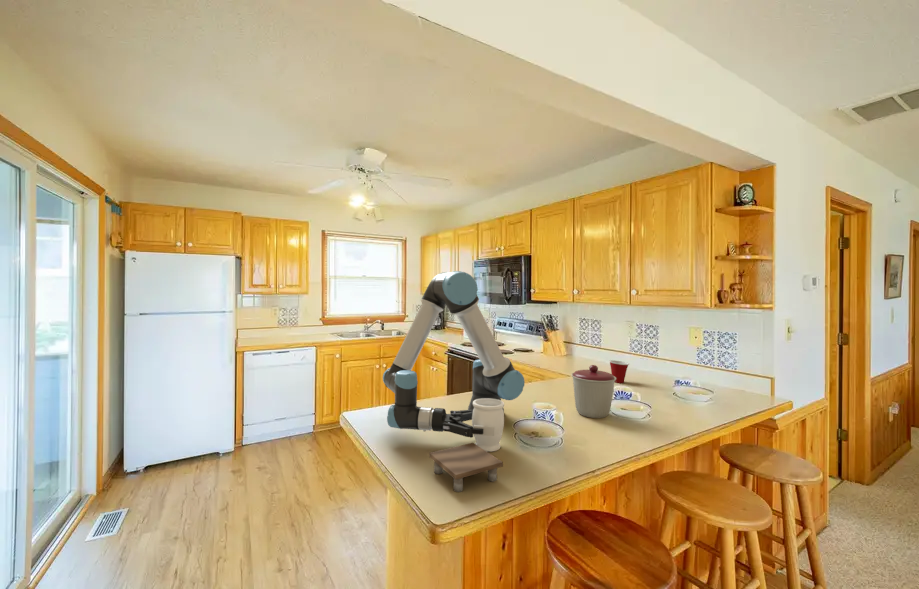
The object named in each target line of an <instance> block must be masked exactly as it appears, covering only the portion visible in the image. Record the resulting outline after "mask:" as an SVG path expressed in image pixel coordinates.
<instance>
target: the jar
mask: <svg viewBox="0 0 919 589" xmlns="http://www.w3.org/2000/svg"><path fill="white" fill-rule="evenodd" d="M473 406H474V409H473V414H472V420H471V426H473V428H474V425H479V426H492V427H494V436H487V435H474V434H473V438H474V440H475V443H474V444H476V445H477V446H479V447H480V448H482V449H483V450H485V451H487V452H488V453H489V452H497V451H498V450H500V448H501V444H500V441H501V440H502V436H503V432H504V431H503V430H504V427H505V414H504V413H505V412H504V413H503V408H505V402H504V401H503V400H502V399H501V400H498V399H491V398H481V399H476V400H474V401H473Z"/></svg>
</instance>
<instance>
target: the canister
mask: <svg viewBox="0 0 919 589" xmlns="http://www.w3.org/2000/svg"><path fill="white" fill-rule="evenodd" d="M588 367H589V369H579V370H576V371H574V372H572V373H571V374H570V375H571V377H572V382H573V383H572V384H573V392H574V393H573V394H574V395H573V396H574V403H575V409H576V412H577V413H578V414H579V415H582V416H584V417H586V418H591V419H592V418H593V419H603V418H606V417H607V416H608V415H609V414H610V412H611V407H612V402H613V395H614V388H615V382H614V381H615V380H616V377H615V376H613V375H612V373H610V372H607V371H603V370H599V367H598V366H597V365H596V364H591V365H590V366H588Z"/></svg>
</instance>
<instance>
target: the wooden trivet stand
mask: <svg viewBox="0 0 919 589" xmlns="http://www.w3.org/2000/svg"><path fill="white" fill-rule="evenodd" d="M428 456H429V458H430V459H431V460H432V461H433V463H434V464H433V465H434V466H433V468H434V469H433V472H434V474H436V475H441V474H443V470H444V471H445V472H446V473H447V474H448V475H449V476H450V477H452V478H453V492H456V493H461V492H463V490H464V478H466V477H469V476H474V475H478V474H481V473H484V472H487V480H488V481H489V482H492V483H494V482H496V481H497V478H498V477H497V475H498V474H497V472H498V468H502V467H504V466H503V465H504V462H503V461H502V460H501V459H499V458H497V457H495V456H494V455H493V454H491V453H489V452H487V451H485V450H483V449H482V448H480V447H479V446H477V445H476V444H475V443H474V442H470V443H466V444H462V445H457V446H453V447H449V448H444V449H439V450H436V451H431V452H428Z"/></svg>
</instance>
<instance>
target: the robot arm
mask: <svg viewBox="0 0 919 589" xmlns="http://www.w3.org/2000/svg"><path fill="white" fill-rule="evenodd" d="M420 301H421V305H420V307H419V309H418V311H417V313H416V316H415V317H414V319H413V321H412V323H411V326H410V327H409V329H408V332H407V333H406V336H405V338H404V340H403V341H402V344H401V346H400V347H399V349H398V352H397V353H396V356H395V357H394V360H393V362H392V364H391V366H390V367H388V368H387V369H386V370H385V371H384V372H383V374H382V382H383V383H384V385H385V387H386V388H388V389H389V390H390V391H391V392H393V393H394V404H393V405H390V406H389V408H388V410H387V415H386V422H387V425H388V426H389V428H395V429H400V430H417V431H423V432H426V431H433V432H439V433H442V432H449V433H452V434H456V435H459V436H463V437H465V438H474V435H487V436H494V427H492V426H479V425H474V428H473V426H472V425H470V424H468V423H465V422H469V421H472V414H473V409H474V406H473V401H474V400H476V399H481V398H491V399H498V400H501V401H502V400H505V401H513V400H515V399H517V398H518V397H520V395H521V394H522V392H523V391H524V387H525V383H526V382H525V381H526V380H525V377H524V375H523V374H522V373H521V372H520V371H519V370H516V369H515V367H514V365H513V363H512V362H511V359H510V358H508V357H505V356H504V355H503V352H502V350H501V349H500V347H499V345H498V343H497V341H496V339H495V336H494V335H493V333H492V331H491V329H490V327H489V325H488V324H487V322H486V320H485V317H484V315H483V313H482V311H481V309H480V307H479V305H478V303H479V302H480V298H479V296H478V284H477V281H476V279H475V278H474V277H473V276H472V275H471V274H469V273H468V272H465V271H460V270H456V271H448V272H447V271H445V272H443V271H442V272H440V273H438V274H437V275H435V276H434V277H432V279H431V281H430V282H429V284H428V286H427V287H426V289H425V291H424V293H423V295H422V297H421V299H420ZM446 307H447V309H448V311H449V312H450V314H451V315H455V316H456V317H457V319H458V321H459V323H460V324H461V326H462V328H463V330H464V332H465V334H466V336H467V338H468V340H469V342H470V344H471V345H472V348H473V349H474V351H475V353H476V354H477V357H478V359H475V360H474V361H473V363H472V394H471V397H470V402H469V405H468V407H467V409H462V410H450V411H449V413H446V412H447V411H446V408H442V407H435V408H433V406H432V407H431V406H417V404H418V397H417V395H418V375H417V372H416V371H414V370H413V367H414V365H415V363H416V361H417V360H418V357H419V355H420V353H421V351H422V349H423V347H424V345H425V343H426V341H427V338H428V337H429V335H430V332H431V330H432V328H433V327H434V325H435V322H436V320H437V318H438V316H439V314H440V313H441V312H443V311H444V310H445V308H446ZM504 408H505V407H503V413H505V409H504Z"/></svg>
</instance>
